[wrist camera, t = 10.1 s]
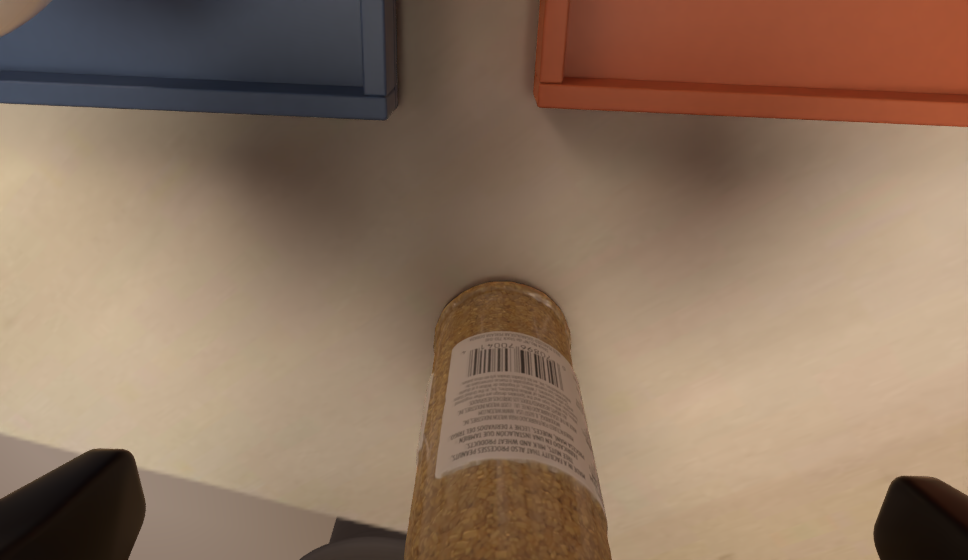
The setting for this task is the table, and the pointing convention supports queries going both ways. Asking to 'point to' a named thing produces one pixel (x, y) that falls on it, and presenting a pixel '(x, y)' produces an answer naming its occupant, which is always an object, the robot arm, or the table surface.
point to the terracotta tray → (758, 58)
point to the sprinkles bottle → (505, 437)
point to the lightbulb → (18, 13)
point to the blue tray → (208, 57)
